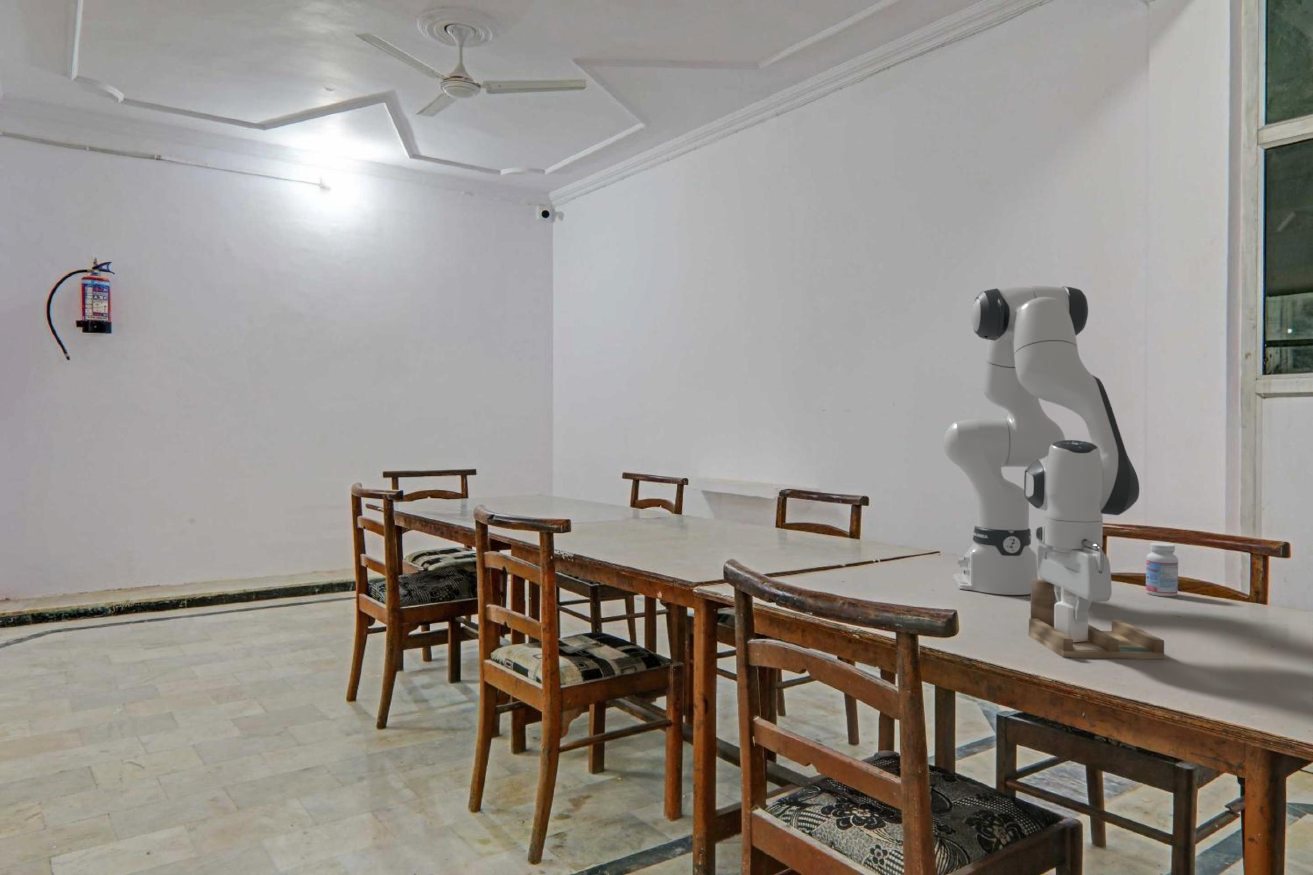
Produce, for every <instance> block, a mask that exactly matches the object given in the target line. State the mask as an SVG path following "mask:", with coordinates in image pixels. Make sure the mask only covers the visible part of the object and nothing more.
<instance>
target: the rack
mask: <svg viewBox="0 0 1313 875" xmlns="http://www.w3.org/2000/svg"><path fill="white" fill-rule="evenodd" d="M1028 636H1029V637H1031V638H1032V637H1033V638H1032V639H1034V640H1035V639H1036V640H1035V641H1036V642H1039V643H1040V644H1042V645H1044V646H1045V647H1047V648H1048V649H1050V650H1051V651H1053V652H1054V653H1056V654H1058V655H1059V656H1060V657H1062V658H1069V657H1071V658H1073V659H1075V658H1076V659H1077V658H1080V659H1081V658H1082V659H1083V658H1085V659H1134V660H1135V659H1137V660H1139V659H1141V660H1144V659H1146V660H1164V659H1165V640H1163V639H1162V638H1159V637H1158V636H1155V635H1153V634H1151V633H1149V632H1147V631H1144V630H1142V629H1140V628H1139V627H1136V626H1134V625H1132V624H1130V623H1128V622H1126V621H1123V620H1121V619H1111V630H1100V629H1098V628H1097V627H1094V626H1092V625H1091V624H1089V623H1088V640H1087V641H1084V642H1073V639H1072V638H1070V637H1068V636H1067V635H1065V634H1063V633H1061V632H1060V631H1058V630H1056V629H1054V628H1053V627H1051V626H1049V625H1048V624H1046V623H1044V622H1042V621H1041V620H1039V619H1031V618H1029V619H1028Z"/></svg>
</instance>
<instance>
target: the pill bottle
mask: <svg viewBox="0 0 1313 875" xmlns="http://www.w3.org/2000/svg"><path fill="white" fill-rule="evenodd" d="M1175 547H1176V546H1175V544H1172V543H1166V542H1150V551H1151V552H1149V553H1148V554H1147V555H1146V559H1145V560H1146V564H1145V565H1146V568H1145V592H1146V594H1148V595H1151V596H1155V597H1164V598H1165V597H1166V598H1167V597H1170V598H1171V597H1172V598H1173V597H1176V596H1177V595H1178V590H1179V589H1178V587H1179V558H1178V556H1177V555H1175V554H1174V553H1175V550H1176V549H1175Z"/></svg>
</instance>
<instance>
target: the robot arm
mask: <svg viewBox="0 0 1313 875" xmlns="http://www.w3.org/2000/svg"><path fill="white" fill-rule="evenodd" d="M1088 305H1089V304H1088V300H1087V297H1086V295H1085V293H1084V292H1083V291H1082V290H1081V289H1079V288H1076V287H1071V286H1061V287H1058V286H1047V285H1046V286H1045V285H1030V286H1021V287H1010V288H1002V289H999V288H992V289H991V288H990V289H987V290H983V291H981V292H980V293H979V294H978V295H977V296H976V297H975V299H974V302H973V306H972V307H971V311H970V312H971V313H970V319H971V320H970V321H971V325H972V327H973V331H974V333H975V334H976V335H977V336H978V337H979V338H980V339H985V340H988V342H987V344H986V345H987V347H986V354H985V359H984V360H985V361H984V362H985V363H984V372H983V373H984V374H983V382H982V392H983V394H984V395H985V397H986V399H987V400H988V401H990V402H991V403H993V404H994V405H997V406H998V407H1001V408H1003V409H1005V410H1007V417H1003V418H978V417H977V418H975V417H974V418H970V419H963V420H958V421H954V422H952V424H950V425H949V427H948V428H947V430H946V432H945V434H944V437H943V448H944V452H945V453H946V456H947V457H948V459H949V460H950V461H951V462H952V463H953V464H955V465H956V466H958V468H960V470H962V471H963V472H964V473H965V475H966V476H967V478H968V479H969V481H970V483H971V486H972V487H973V491H974V492H973V493H974V495H975V496H974V497H975V506H976V507H975V511H976V515H975V516H976V525H975V526H974V529H973V531H972V532H973V533H972V541H973V543H972V544H971V546H970V547H969V548H968V550H967V551H966V553H965V554H964V555H963V557H958V559H957V564H958V568H962V572H959V573H953V575H952V578H953V580H954V582H955V584H956V585H957V587H958V589H960V590H961V589H962V590H966V591H967V590H969V591H975V592H980V593H987V594H994V595H1007V596H1009V595H1010V596H1015V595H1016V596H1019V595H1020V596H1021V595H1031V580H1035V579H1039V578H1040V579H1041V580H1045V581H1047V582H1049V583H1051V584H1053V585H1054V592H1055V600H1056V603H1058V602H1061V586H1062V587H1063V588H1064V590H1066V591H1068V592H1071V593H1073V594H1075V600H1076V601H1077V603H1076V608H1075V609H1073V618H1074V619H1075V620H1076V621H1078V622H1086V621H1087V619H1088V620H1089V610H1090V608H1091V606H1092V604H1093V602H1109V601H1110V599H1111V596H1112V591H1113V590H1112V574H1111V564H1110V560H1109V557H1108V556H1107V555H1106V554H1105V552H1104V551H1103V549H1102V548H1103V532H1104V531H1103V530H1104V529H1103V525H1104V518H1103V515H1110V516H1119V515H1121V514H1123V513H1125V512H1126V511H1128V510H1129V509H1131V507H1132V506H1134V505H1135V503H1137V501H1138V499H1139V496H1140V483H1139V482H1140V481H1139V478H1138V475H1137V472H1136V470H1135V467H1134V465H1133V463H1132V461H1131V460H1130V457H1129V455H1128V453H1127V451H1126V448H1125V445H1124V444H1125V443H1124V441H1123V438H1122V435H1121V432H1120V429H1119V426H1118V423H1117V420H1116V416H1115V413H1114V411H1113V408H1112V404H1111V402H1110V398H1109V397H1108V396H1109V395H1108V393H1107V391H1106V388H1105V386H1104V384H1103V382H1102V380H1101V379H1100V378H1099V377H1097V376H1096V375H1093V374H1091V372H1090V371H1089V370H1088V369H1087V367H1085V365H1084V363H1083V362H1082V360H1081V358H1080V355H1079V349H1078V342H1077V336H1078V335H1079V334H1080V333H1081V332H1083V330H1084V329H1085V327H1086V325H1087V320H1088V317H1089V306H1088ZM1039 399H1040V400H1043V401H1045V402H1049V403H1051V404H1052V403H1053V404H1056V405H1057V406H1061V407H1063V408H1065V409H1067V410H1069V411H1072V412H1074V413H1075V414H1077V415H1078V416H1079V417H1080V418H1082V420H1083V421H1084V423H1085V424H1086V427H1087V430H1088V435H1089V437H1090V441H1091V442H1089V441H1085V440H1083V441H1082V440H1077V439H1069V440H1068V439H1066V438H1065V434H1064V432H1063V430H1062V428H1061V427H1060V426H1059V424H1057V423H1056V422H1055V421H1053V420H1052V419H1051V418H1050V417H1049V416H1048V415H1047V414H1046V412H1044V410H1043V408H1042V406H1041V403H1040V400H1039ZM1006 467H1007V468H1009V467H1010V468H1011V467H1013V468H1014V467H1015V468H1026V469H1024V481H1023V482H1024V484H1023V485H1024V486H1023V487H1024V488H1022V486H1019V485H1018V484H1015V483H1014V482H1012V481H1009V480H1007V479H1005V477H1004V476H1003V473H1002V472H1003V471H1002V468H1006ZM1030 504H1031V506H1033V507H1035V509H1038V510H1042V511H1046V513H1045V515H1044V523H1043V524H1040V525H1039V526H1036V527H1035V529H1034V539H1035V540H1037V541H1038V542H1037V544H1036V552H1035V551H1034V550H1032V548H1031V547H1030V545H1031V543H1032V540H1031V539H1032V534H1031V532H1032V531H1031V530H1032V529H1031V528H1029V527H1030V520H1029V519H1030Z"/></svg>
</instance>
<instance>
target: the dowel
mask: <svg viewBox="0 0 1313 875" xmlns="http://www.w3.org/2000/svg"><path fill="white" fill-rule="evenodd" d="M1055 604H1056V595H1055V592H1054V585H1053V584H1051V583H1049V582H1047V581H1045V580H1043V579H1041V578H1040V579H1039V578H1038V579H1035V580H1031V594H1030V619H1039V620H1041V621H1042V622H1044V623H1046V624H1048V625H1049V626H1051V627H1053V628H1054V605H1055Z"/></svg>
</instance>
